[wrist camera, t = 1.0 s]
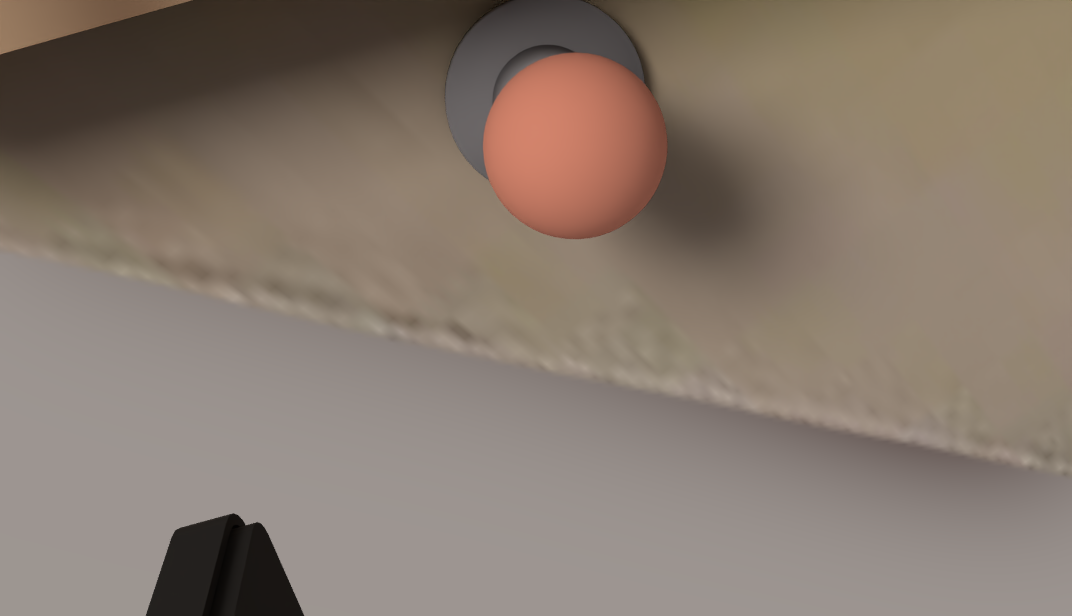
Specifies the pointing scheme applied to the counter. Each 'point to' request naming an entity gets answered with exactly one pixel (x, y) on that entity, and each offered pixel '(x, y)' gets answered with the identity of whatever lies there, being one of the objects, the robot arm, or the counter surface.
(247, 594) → the robot arm
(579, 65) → the ball
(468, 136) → the stand
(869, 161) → the counter surface
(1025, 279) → the counter surface
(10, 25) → the wooden trough
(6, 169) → the counter surface
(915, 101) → the counter surface
